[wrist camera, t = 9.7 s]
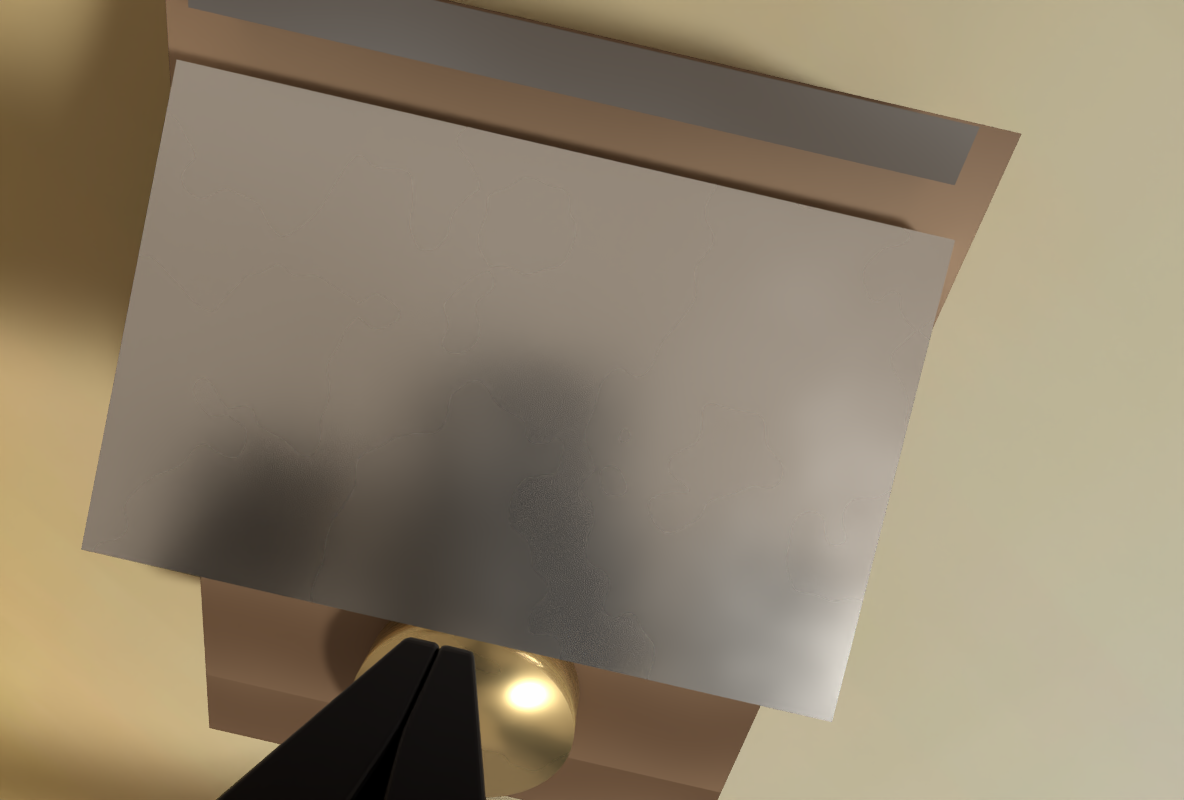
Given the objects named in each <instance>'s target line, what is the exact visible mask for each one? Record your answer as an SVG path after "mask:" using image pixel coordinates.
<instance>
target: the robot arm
mask: <svg viewBox="0 0 1184 800" xmlns="http://www.w3.org/2000/svg"><path fill="white" fill-rule="evenodd" d="M216 800H486V795H485V782H484V770H483V758H482V745H481V733H480V720H479V708H478V696H477V683H476V671H475V659H474V655H473V653H472V652H471V651H469V650H465V649H461V648H457V647H452V646H448V645H444V646H442V647H441V648H440V649H439V646H438V644H436V643H435V642H431V641H426V640H422V639H418V638H413V637H409V638H405V639H404V640H402V641H401V642H400V643H399V644H398V645H396V646H395V647H394V648H393V649H392V650H391V651H389V652H388V653H387V654H386V655H385V656H383V657H382V658H381V659H380V660H379V661H378V662H376V663H375V664H374V665H373V666H372V667H371V668H369V669H368V670H367V671H366V672H365V673H364V674H362V675H361V676H360V677H359V678H358V679H357V680H355V681H354V682H353V683H352V684H351V685H350V686H348V687H347V688H346V689H345V690H344V691H343V692H341V693H340V694H339V695H338V696H337V697H336V698H334V699H333V700H332V701H331V702H330V703H329V704H327V705H326V706H325V707H324V708H323V709H321V710H320V711H319V712H318V713H317V714H316V715H314V716H313V717H312V718H311V719H310V720H309V721H307V722H306V723H305V724H304V725H303V726H302V727H300V728H299V729H298V730H297V731H296V732H295V733H293V734H292V735H291V736H290V737H289V738H288V739H286V740H285V741H284V742H283V743H282V744H281V745H279V746H278V747H277V748H276V749H275V750H274V751H272V752H271V753H270V754H269V755H268V756H267V757H265V758H264V759H263V760H262V761H261V762H260V763H258V764H257V765H256V766H255V767H254V768H252V769H251V770H250V771H249V772H248V773H247V774H245V775H244V776H243V777H242V778H241V779H240V780H238V781H237V782H236V783H235V784H234V785H233V786H231V787H230V788H229V789H228V790H227V791H226V792H224V793H223V794H222V795H221V796H220V797H219V798H217V799H216Z"/></svg>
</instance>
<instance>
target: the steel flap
mask: <svg viewBox="0 0 1184 800" xmlns="http://www.w3.org/2000/svg"><path fill="white" fill-rule="evenodd" d="M954 243H955V240H952V239H948V238H944V237H940V236H935V235H931V234H927V233H922V232H918V231H914V230H909V229H905V228H901V227H896V226H892V225H888V224H884V223H879V222H875V221H871V220H866V219H862V218H858V217H853V216H849V215H845V214H840V213H836V212H832V211H828V210H823V209H819V208H815V207H810V206H806V205H802V204H797V203H793V202H789V201H784V200H780V199H776V198H772V197H767V196H763V195H759V194H754V193H750V192H746V191H741V190H737V189H733V188H728V187H724V186H720V185H716V184H711V183H707V182H703V181H698V180H694V179H690V178H685V177H681V176H677V175H672V174H668V173H664V172H660V171H655V170H651V169H647V168H642V167H638V166H634V165H629V164H625V163H621V162H616V161H612V160H608V159H604V158H599V157H595V156H591V155H586V154H582V153H578V152H573V151H569V150H565V149H560V148H556V147H552V146H548V145H543V144H539V143H535V142H530V141H526V140H522V139H517V138H513V137H509V136H504V135H500V134H496V133H492V132H487V131H483V130H479V129H474V128H470V127H466V126H461V125H457V124H453V123H448V122H444V121H440V120H436V119H431V118H427V117H423V116H418V115H414V114H410V113H405V112H401V111H397V110H392V109H388V108H384V107H380V106H375V105H371V104H367V103H362V102H358V101H354V100H349V99H345V98H341V97H336V96H332V95H328V94H323V93H319V92H315V91H311V90H306V89H302V88H298V87H293V86H289V85H285V84H280V83H276V82H272V81H267V80H263V79H259V78H255V77H250V76H246V75H242V74H237V73H233V72H229V71H224V70H220V69H216V68H211V67H207V66H203V65H199V64H194V63H190V62H186V61H181V60H176V65H175V71H174V76H173V81H172V86H171V91H170V96H169V101H168V106H167V112H166V117H165V122H164V127H163V132H162V137H161V142H160V148H159V153H158V158H157V163H156V168H155V173H154V178H153V184H152V189H151V194H150V199H149V204H148V209H147V214H146V219H145V225H144V230H143V235H142V240H141V245H140V250H139V255H138V261H137V266H136V271H135V276H134V281H133V286H132V291H131V296H130V302H129V307H128V312H127V317H126V322H125V327H124V332H123V338H122V343H121V348H120V353H119V358H118V363H117V368H116V374H115V379H114V384H113V389H112V394H111V399H110V404H109V409H108V415H107V420H106V425H105V430H104V435H103V440H102V445H101V451H100V456H99V461H98V466H97V471H96V476H95V481H94V486H93V492H92V497H91V502H90V507H89V512H88V517H87V522H86V528H85V533H84V538H83V543H82V548H81V549H82V550H86V551H91V552H95V553H99V554H104V555H108V556H112V557H117V558H121V559H125V560H130V561H134V562H138V563H143V564H147V565H151V566H156V567H160V568H164V569H169V570H173V571H177V572H182V573H186V574H191V575H195V576H199V577H204V578H208V579H212V580H217V581H221V582H225V583H230V584H234V585H238V586H243V587H247V588H251V589H256V590H260V591H264V592H269V593H273V594H277V595H282V596H286V597H291V598H295V599H299V600H304V601H308V602H312V603H317V604H321V605H325V606H330V607H334V608H338V609H343V610H347V611H351V612H356V613H360V614H364V615H369V616H373V617H377V618H382V619H386V620H391V621H395V622H399V623H404V624H408V625H412V626H417V627H421V628H425V629H430V630H434V631H438V632H443V633H447V634H451V635H456V636H460V637H464V638H469V639H473V640H477V641H482V642H486V643H491V644H495V645H499V646H504V647H508V648H512V649H517V650H521V651H525V652H530V653H534V654H538V655H543V656H547V657H551V658H556V659H560V660H564V661H569V662H573V663H577V664H582V665H586V666H591V667H595V668H599V669H604V670H608V671H612V672H617V673H621V674H625V675H630V676H634V677H638V678H643V679H647V680H651V681H656V682H660V683H664V684H669V685H673V686H677V687H682V688H686V689H691V690H695V691H699V692H704V693H708V694H712V695H717V696H721V697H725V698H730V699H734V700H738V701H743V702H747V703H751V704H756V705H760V706H764V707H769V708H773V709H777V710H782V711H786V712H791V713H795V714H799V715H804V716H808V717H812V718H817V719H821V720H825V721H830V722H832V720H833V716H834V712H835V708H836V704H837V700H838V696H839V692H840V689H841V685H842V681H843V677H844V673H845V669H846V665H847V661H848V657H849V653H850V649H851V646H852V642H853V638H854V634H855V630H856V626H857V622H858V618H859V614H860V610H861V606H862V602H863V599H864V595H865V591H866V587H867V583H868V579H869V575H870V571H871V567H872V563H873V559H874V556H875V552H876V548H877V544H878V540H879V536H880V532H881V528H882V524H883V520H884V516H885V513H886V509H887V505H888V501H889V497H890V493H891V489H892V485H893V481H894V477H895V473H896V469H897V466H898V462H899V458H900V454H901V450H902V446H903V442H904V438H905V434H906V430H907V426H908V423H909V419H910V415H911V411H912V407H913V403H914V399H915V395H916V391H917V387H918V383H919V380H920V376H921V372H922V368H923V364H924V360H925V356H926V352H927V348H928V344H929V340H930V337H931V333H932V329H933V325H934V321H935V317H936V313H937V309H938V305H939V301H940V297H941V293H942V290H943V286H944V282H945V278H946V274H947V270H948V266H949V262H950V258H951V254H952V250H953V247H954Z"/></svg>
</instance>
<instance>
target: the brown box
mask: <svg viewBox="0 0 1184 800" xmlns="http://www.w3.org/2000/svg"><path fill="white" fill-rule="evenodd" d="M166 16H167V33H168V49H169V66H170V82H171V86H172V81H173V76H174V71H175V65H176V60H181V61H186V62H190V63H194V64H199V65H203V66H207V67H211V68H216V69H220V70H224V71H229V72H233V73H237V74H242V75H246V76H250V77H255V78H259V79H263V80H267V81H272V82H276V83H280V84H285V85H289V86H293V87H298V88H302V89H306V90H311V91H315V92H319V93H323V94H328V95H332V96H336V97H341V98H345V99H349V100H354V101H358V102H362V103H367V104H371V105H375V106H380V107H384V108H388V109H392V110H397V111H401V112H405V113H410V114H414V115H418V116H423V117H427V118H431V119H436V120H440V121H444V122H448V123H453V124H457V125H461V126H466V127H470V128H474V129H479V130H483V131H487V132H492V133H496V134H500V135H504V136H509V137H513V138H517V139H522V140H526V141H530V142H535V143H539V144H543V145H548V146H552V147H556V148H560V149H565V150H569V151H573V152H578V153H582V154H586V155H591V156H595V157H599V158H604V159H608V160H612V161H616V162H621V163H625V164H629V165H634V166H638V167H642V168H647V169H651V170H655V171H660V172H664V173H668V174H672V175H677V176H681V177H685V178H690V179H694V180H698V181H703V182H707V183H711V184H716V185H720V186H724V187H728V188H733V189H737V190H741V191H746V192H750V193H754V194H759V195H763V196H767V197H772V198H776V199H780V200H784V201H789V202H793V203H797V204H802V205H806V206H810V207H815V208H819V209H823V210H828V211H832V212H836V213H840V214H845V215H849V216H853V217H858V218H862V219H866V220H871V221H875V222H879V223H884V224H888V225H892V226H896V227H901V228H905V229H909V230H914V231H918V232H922V233H927V234H931V235H935V236H940V237H944V238H948V239H952V240H955V243H954V247H953V250H952V254H951V258H950V262H949V266H948V270H947V274H946V278H945V282H944V286H943V290H942V293H941V297H940V301H939V305H938V309H937V313H936V317H935V321H934V324H935V322H936V320H937V318H938V316H939V313H940V311H941V309H942V307H943V305H944V303H945V300H946V298H947V296H948V294H949V292H950V289H951V287H952V285H953V283H954V281H955V278H956V276H957V274H958V272H959V270H960V267H961V265H962V263H963V261H964V259H965V257H966V254H967V252H968V250H969V248H970V246H971V243H972V241H973V239H974V237H975V235H976V232H977V230H978V228H979V226H980V224H981V221H982V219H983V217H984V215H985V213H986V211H987V208H988V206H989V204H990V202H991V200H992V197H993V195H994V193H995V191H996V189H997V186H998V184H999V182H1000V180H1001V178H1002V175H1003V173H1004V171H1005V169H1006V167H1007V165H1008V162H1009V160H1010V158H1011V156H1012V154H1013V151H1014V149H1015V147H1016V145H1017V143H1018V140H1019V138H1020V136H1021V134H1020V133H1016V132H1011V131H1007V130H1003V129H998V128H994V127H990V126H985V125H981V124H977V123H973V122H968V121H964V120H960V119H955V118H951V117H947V116H942V115H938V114H934V113H930V112H925V111H921V110H917V109H912V108H908V107H904V106H899V105H895V104H891V103H887V102H882V101H878V100H874V99H869V98H865V97H861V96H856V95H852V94H848V93H844V92H839V91H835V90H831V89H826V88H822V87H818V86H813V85H809V84H805V83H801V82H796V81H792V80H788V79H783V78H779V77H775V76H771V75H766V74H762V73H758V72H753V71H749V70H745V69H740V68H736V67H732V66H728V65H723V64H719V63H715V62H710V61H706V60H702V59H697V58H693V57H689V56H685V55H680V54H676V53H672V52H667V51H663V50H659V49H654V48H650V47H646V46H642V45H637V44H633V43H629V42H624V41H620V40H616V39H611V38H607V37H603V36H599V35H594V34H590V33H586V32H581V31H577V30H573V29H568V28H564V27H560V26H556V25H551V24H547V23H543V22H538V21H534V20H530V19H525V18H521V17H517V16H513V15H508V14H504V13H500V12H495V11H491V10H487V9H482V8H478V7H474V6H470V5H465V4H461V3H457V2H452V1H448V0H166ZM933 327H934V325H933ZM200 580H201V596H202V613H203V629H204V646H205V662H206V679H207V696H208V712H209V728H212V729H216V730H221V731H225V732H230V733H234V734H238V735H243V736H247V737H251V738H256V739H260V740H264V741H269V742H273V743H277V744H282V743H283V742H284V741H285V740H286V739H288V738H289V737H290V736H291V735H292V734H293V733H295V732H296V731H297V730H298V729H299V728H300V727H302V726H303V725H304V724H305V723H306V722H307V721H309V720H310V719H311V718H312V717H313V716H314V715H316V714H317V713H318V712H319V711H320V710H321V709H323V708H324V707H325V706H326V705H327V704H329V703H330V702H331V701H332V700H333V699H334V698H336V697H337V696H338V695H339V694H340V693H341V692H343V691H344V690H345V689H346V688H347V687H348V686H350V685H351V684H352V683H353V682H354V680H355V677H356V675H357V673H358V671H359V670H360V668H361V666H362V664H363V662H364V660H365V658H366V656H367V654H368V653H369V651H370V649H371V647H372V645H373V643H374V641H375V639H376V638H377V636H378V634H379V633H380V631H381V630H382V629H383V627H384V626H385V625H386V624H387V623H388V622H389V621H390V620H386V619H382V618H377V617H373V616H369V615H364V614H360V613H356V612H351V611H347V610H343V609H338V608H334V607H330V606H325V605H321V604H317V603H312V602H308V601H304V600H299V599H295V598H291V597H286V596H282V595H277V594H273V593H269V592H264V591H260V590H256V589H251V588H247V587H243V586H238V585H234V584H230V583H225V582H221V581H217V580H212V579H208V578H204V577H200ZM573 664H574V667H575V670H576V672H577V675H578V681H579V702H578V709H577V717H576V724H575V732H574V738H573V744H572V748H571V751H570V753H569V756H568V758H567V759H566V761H565V762H564V764H563V765H562V767H561V768H560V769H559V770H558V771H557V772H556V773H555V774H554V775H553V776H551V777H550V778H549V779H548V780H546V781H544V782H543V783H541V784H539V785H538V786H536V787H533V788H531V789H529V790H526V791H523V792H519V793H516V794H512V795H506V796H509V797H513V798H517V799H522V800H718V798H719V795H720V793H721V791H722V789H723V787H724V784H725V782H726V780H727V778H728V776H729V774H730V771H731V769H732V767H733V765H734V763H735V760H736V758H737V756H738V754H739V752H740V749H741V747H742V745H743V743H744V741H745V738H746V736H747V734H748V732H749V730H750V728H751V725H752V723H753V721H754V719H755V717H756V714H757V712H758V710H759V708H760V705H756V704H751V703H747V702H743V701H738V700H734V699H730V698H725V697H721V696H717V695H712V694H708V693H704V692H699V691H695V690H691V689H686V688H682V687H677V686H673V685H669V684H664V683H660V682H656V681H651V680H647V679H643V678H638V677H634V676H630V675H625V674H621V673H617V672H612V671H608V670H604V669H599V668H595V667H591V666H586V665H582V664H577V663H573Z"/></svg>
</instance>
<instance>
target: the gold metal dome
mask: <svg viewBox="0 0 1184 800" xmlns="http://www.w3.org/2000/svg"><path fill="white" fill-rule="evenodd" d="M409 637H413V638H418V639H422V640H426V641H431V642H435V643H436V644H438V646H439V649H440V648H441V647H442V646H444V645H448V646H452V647H457V648H461V649H465V650H469V651H471V652H472V653H473V655H474V659H475V671H476V683H477V696H478V708H479V720H480V733H481V745H482V758H483V770H484V782H485V795H486V797H499V796H506V795H512V794H516V793H519V792H523V791H526V790H529V789H531V788H533V787H536V786H538V785H539V784H541V783H543V782H544V781H546V780H548V779H549V778H550V777H551V776H553V775H554V774H555V773H556V772H557V771H558V770H559V769H560V768H561V767H562V765H563V764H564V762H565V761H566V759H567V758H568V756H569V753H570V751H571V748H572V744H573V738H574V732H575V724H576V717H577V709H578V702H579V681H578V675H577V672H576V670H575V667H574V664H573V662H569V661H564V660H560V659H556V658H551V657H547V656H543V655H538V654H534V653H530V652H525V651H521V650H517V649H512V648H508V647H504V646H499V645H495V644H491V643H486V642H482V641H477V640H473V639H469V638H464V637H460V636H456V635H451V634H447V633H443V632H438V631H434V630H430V629H425V628H421V627H417V626H412V625H408V624H404V623H399V622H395V621H391V620H390V621H389V622H388V623H387V624H386V625H385V626H384V627H383V629H382V630H381V631H380V633H379V634H378V636H377V638H376V639H375V641H374V643H373V645H372V647H371V649H370V651H369V653H368V654H367V656H366V658H365V660H364V662H363V664H362V666H361V668H360V670H359V671H358V673H357V675H356V677H355V680H357V679H358V678H359V677H360V676H361V675H362V674H364V673H365V672H366V671H367V670H368V669H369V668H371V667H372V666H373V665H374V664H375V663H376V662H378V661H379V660H380V659H381V658H382V657H383V656H385V655H386V654H387V653H388V652H389V651H391V650H392V649H393V648H394V647H395V646H396V645H398V644H399V643H400V642H401V641H402V640H404V639H405V638H409ZM355 680H354V681H355Z"/></svg>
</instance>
